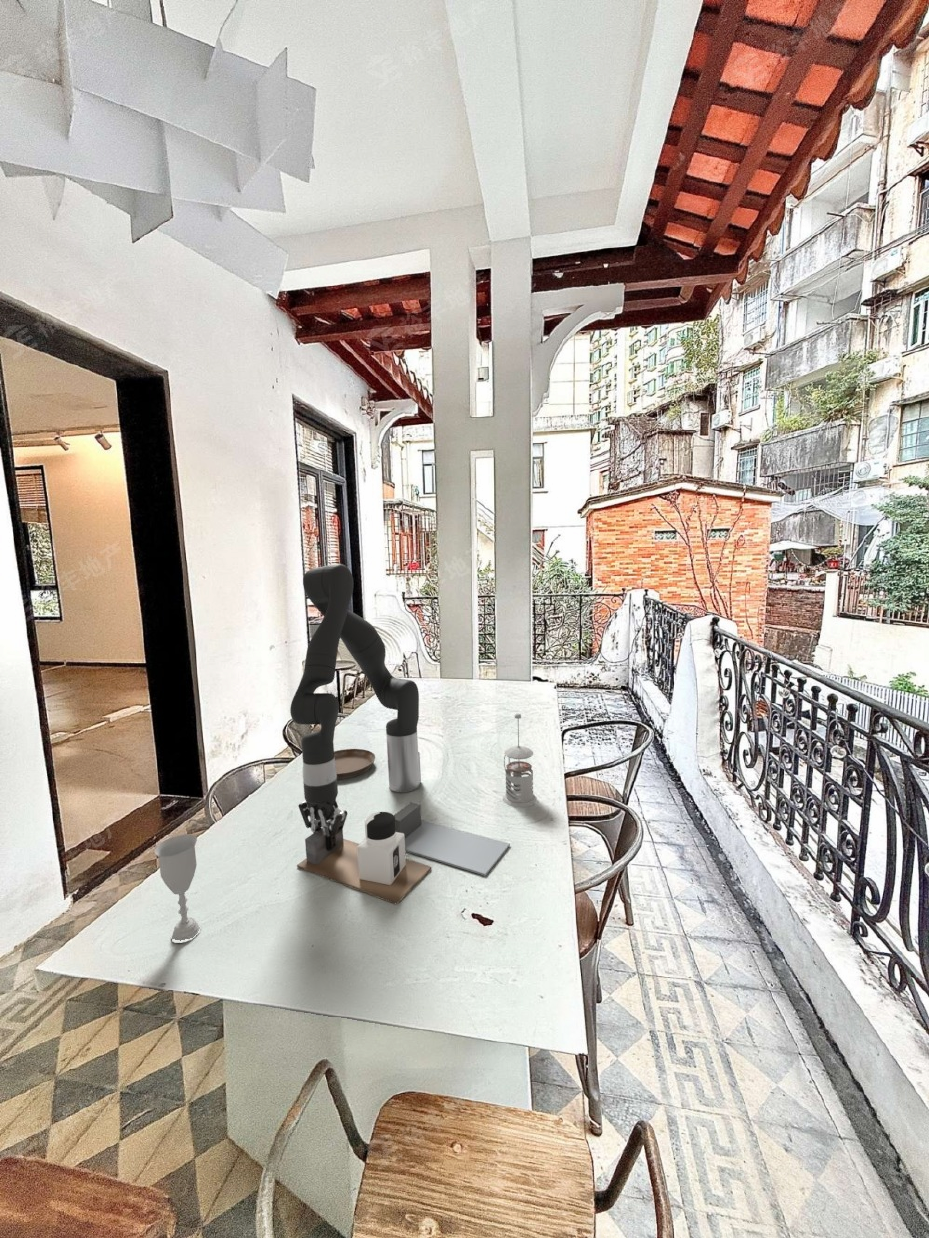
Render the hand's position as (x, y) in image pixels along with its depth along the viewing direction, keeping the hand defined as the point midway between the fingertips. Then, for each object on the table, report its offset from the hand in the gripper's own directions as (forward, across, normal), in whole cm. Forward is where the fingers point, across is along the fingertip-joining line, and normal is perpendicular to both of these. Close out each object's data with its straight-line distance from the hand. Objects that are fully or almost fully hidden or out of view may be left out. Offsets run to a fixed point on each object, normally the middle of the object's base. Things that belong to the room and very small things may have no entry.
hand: (325, 846), depth 121 cm
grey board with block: (+2, -24, -16) cm, 29 cm away
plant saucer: (+3, +30, -40) cm, 50 cm away
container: (+2, -17, 0) cm, 17 cm away
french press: (+2, -30, -46) cm, 55 cm away
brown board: (+2, -12, 0) cm, 12 cm away
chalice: (+2, +6, +31) cm, 32 cm away
